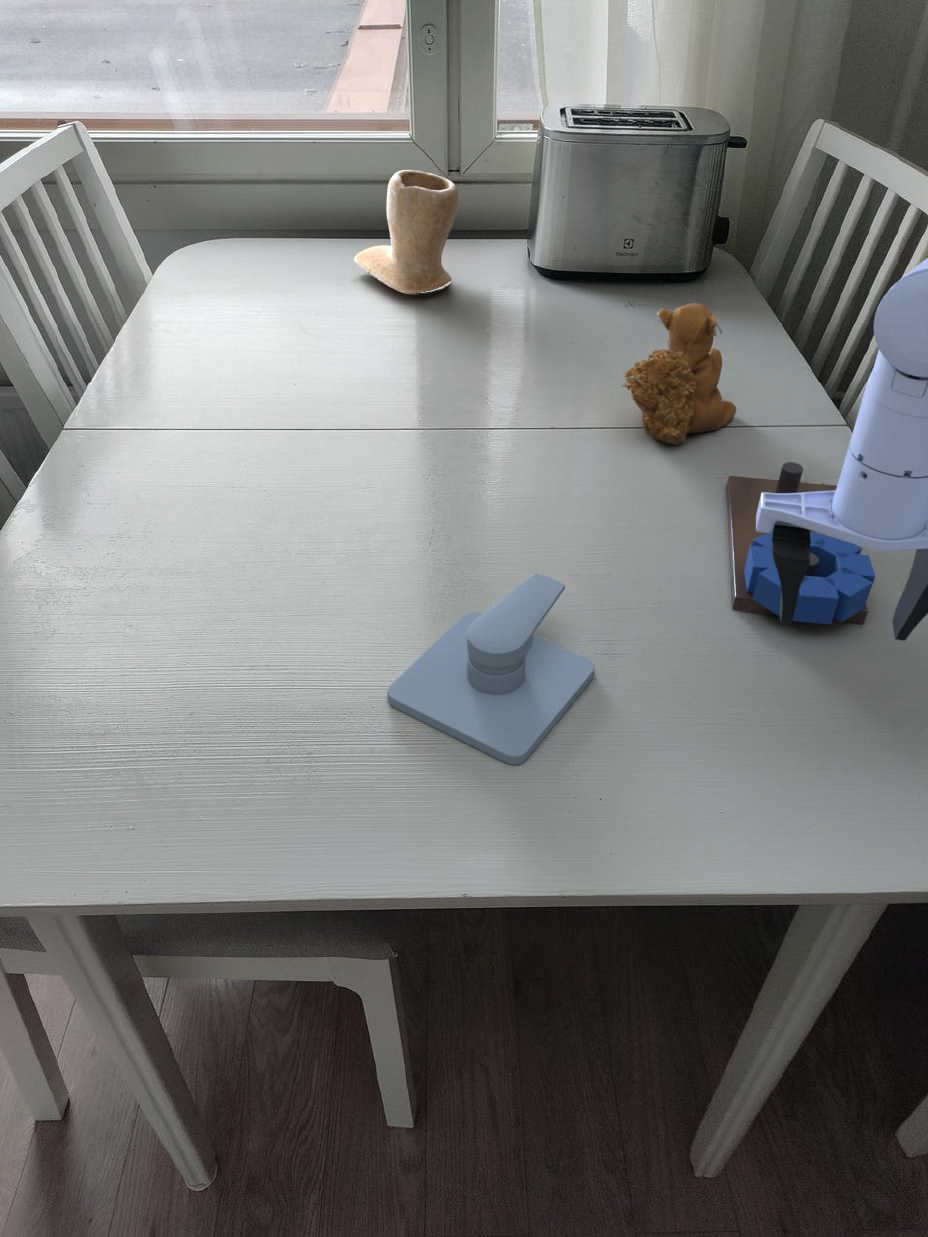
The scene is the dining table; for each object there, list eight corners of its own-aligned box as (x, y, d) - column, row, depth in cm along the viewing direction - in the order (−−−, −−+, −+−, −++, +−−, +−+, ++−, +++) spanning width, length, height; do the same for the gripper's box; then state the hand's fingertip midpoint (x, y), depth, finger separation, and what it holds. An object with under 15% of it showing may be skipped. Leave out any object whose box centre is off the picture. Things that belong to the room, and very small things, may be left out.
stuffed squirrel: (739, 413, 110) (762, 301, 102) (688, 466, 101) (708, 348, 93) (660, 390, 115) (675, 281, 106) (604, 439, 106) (616, 325, 97)
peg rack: (837, 498, 97) (848, 459, 94) (863, 624, 82) (878, 583, 79) (726, 487, 98) (734, 449, 95) (732, 609, 83) (741, 568, 80)
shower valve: (620, 602, 75) (521, 716, 66) (613, 653, 79) (518, 769, 69) (487, 550, 81) (378, 649, 71) (486, 601, 84) (382, 701, 75)
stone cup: (473, 289, 139) (474, 180, 129) (401, 306, 134) (396, 194, 124) (421, 257, 149) (419, 153, 139) (353, 272, 144) (345, 165, 134)
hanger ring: (853, 557, 87) (861, 531, 85) (874, 628, 79) (883, 602, 77) (740, 548, 88) (746, 522, 86) (750, 618, 80) (756, 591, 78)
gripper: (1012, 435, 60) (942, 602, 69) (774, 410, 63) (737, 574, 72) (1036, 495, 55) (957, 667, 64) (776, 464, 58) (735, 634, 66)
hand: (841, 622), depth 67 cm, fingers open, 7 cm apart
